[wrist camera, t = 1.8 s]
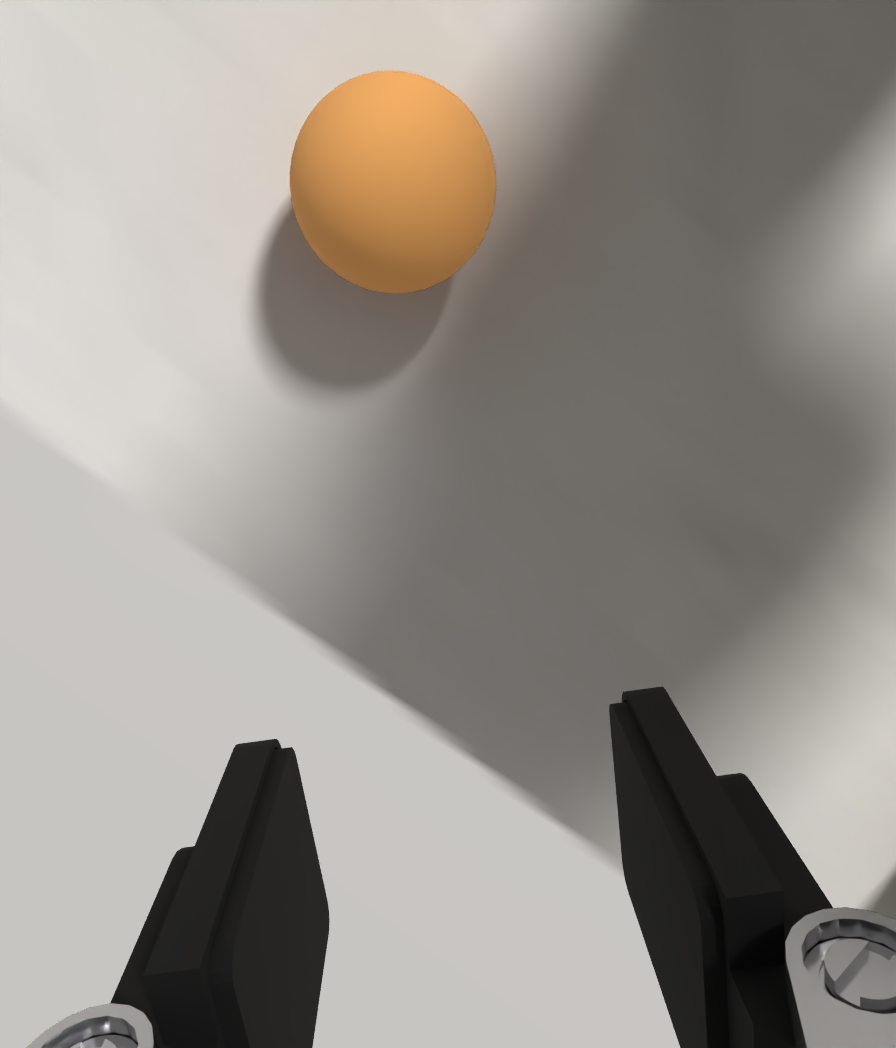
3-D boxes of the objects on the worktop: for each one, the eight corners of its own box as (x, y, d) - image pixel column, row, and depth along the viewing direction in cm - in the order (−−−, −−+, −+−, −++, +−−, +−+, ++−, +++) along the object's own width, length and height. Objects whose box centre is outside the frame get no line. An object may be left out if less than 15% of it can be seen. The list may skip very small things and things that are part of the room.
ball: (289, 109, 24) (251, 62, 19) (476, 83, 24) (491, 27, 19) (323, 303, 26) (296, 310, 21) (497, 278, 26) (517, 279, 20)
